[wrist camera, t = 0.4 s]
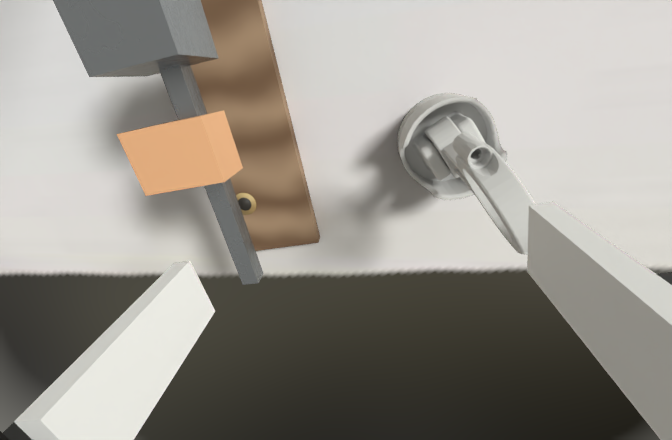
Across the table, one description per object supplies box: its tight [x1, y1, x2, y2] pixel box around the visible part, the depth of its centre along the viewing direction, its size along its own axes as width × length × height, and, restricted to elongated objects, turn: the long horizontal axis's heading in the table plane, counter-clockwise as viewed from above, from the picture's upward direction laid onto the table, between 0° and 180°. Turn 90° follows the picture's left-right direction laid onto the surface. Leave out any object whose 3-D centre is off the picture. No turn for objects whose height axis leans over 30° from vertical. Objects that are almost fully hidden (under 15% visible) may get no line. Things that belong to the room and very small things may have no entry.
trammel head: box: [117, 110, 243, 196], centre depth 30 cm, size 5×7×13 cm
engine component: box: [397, 93, 536, 255], centre depth 27 cm, size 11×20×10 cm
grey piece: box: [53, 0, 263, 285], centre depth 31 cm, size 26×7×14 cm, turn 11°
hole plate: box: [191, 0, 320, 251], centre depth 37 cm, size 30×12×2 cm, turn 11°
